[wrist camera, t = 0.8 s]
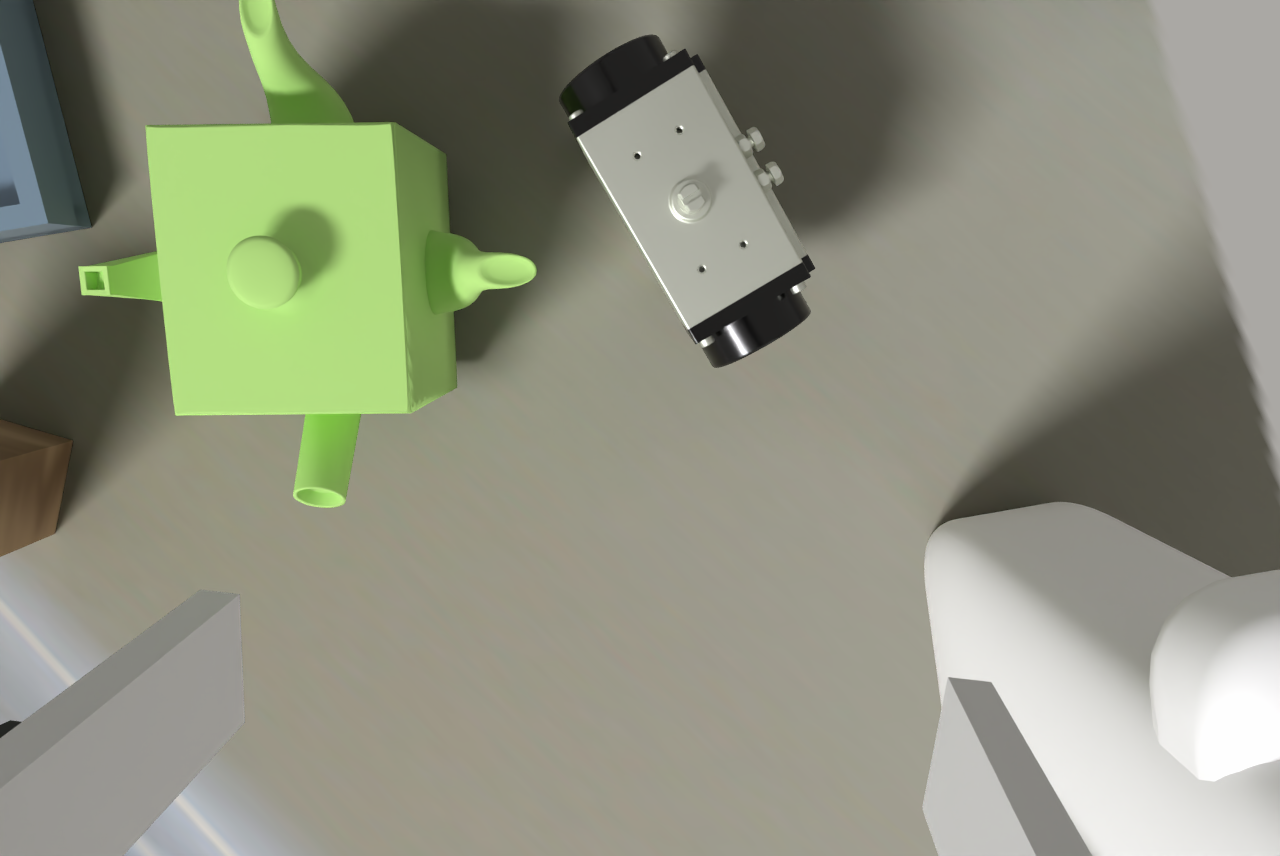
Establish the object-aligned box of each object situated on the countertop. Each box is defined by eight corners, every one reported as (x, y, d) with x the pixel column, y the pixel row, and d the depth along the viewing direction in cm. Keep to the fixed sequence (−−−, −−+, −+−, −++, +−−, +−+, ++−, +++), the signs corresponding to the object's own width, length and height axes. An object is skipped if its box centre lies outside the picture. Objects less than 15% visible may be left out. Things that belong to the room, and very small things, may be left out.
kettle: (348, 43, 39) (233, -50, 28) (579, 255, 41) (555, 246, 30) (152, 288, 41) (-28, 290, 30) (380, 482, 43) (288, 552, 32)
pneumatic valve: (698, 354, 42) (718, 382, 30) (572, 137, 40) (540, 76, 28) (799, 295, 41) (860, 300, 29) (675, 72, 39) (687, -17, 28)
